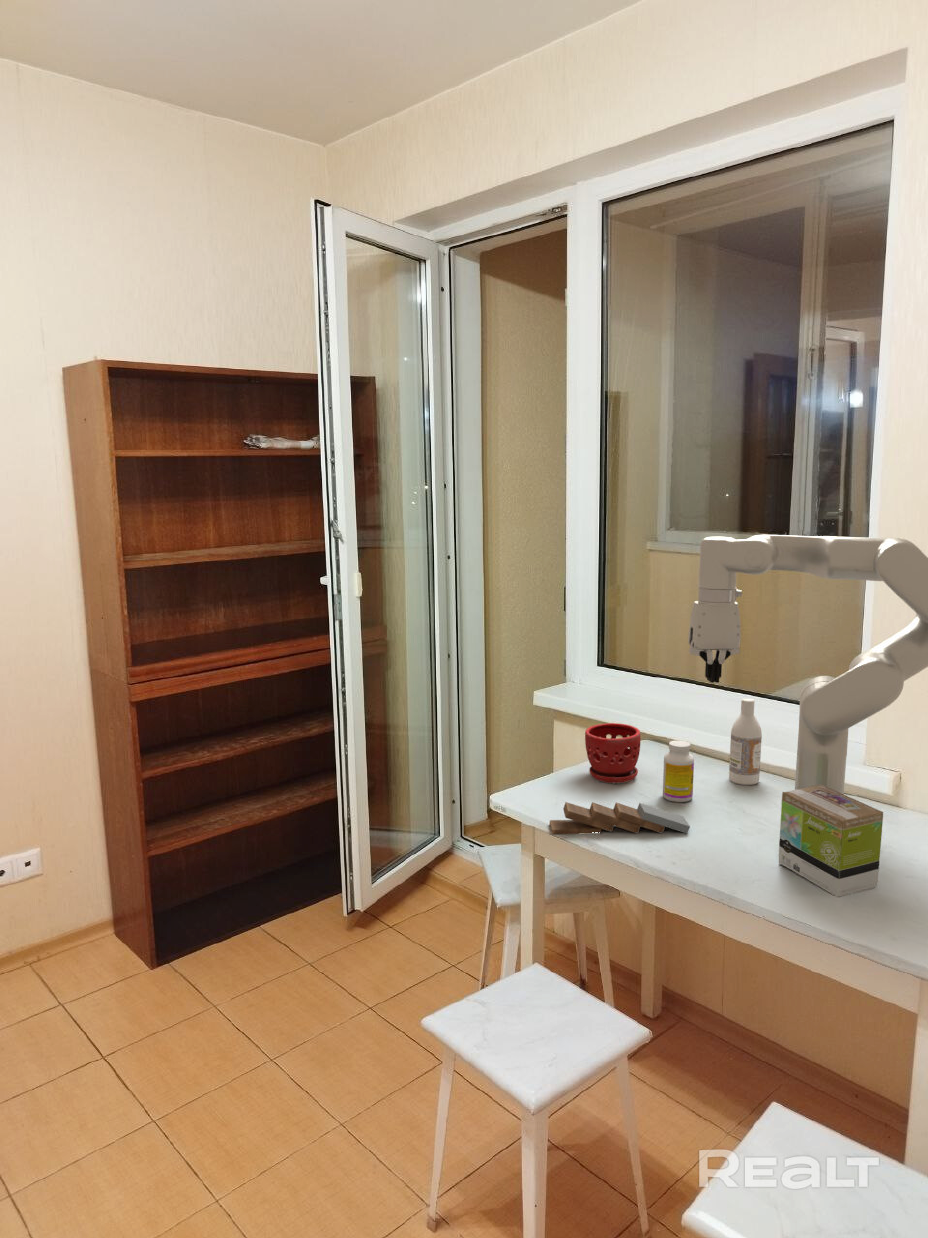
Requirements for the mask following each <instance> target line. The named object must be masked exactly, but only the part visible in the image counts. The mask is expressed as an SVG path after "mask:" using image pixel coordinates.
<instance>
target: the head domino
mask: <svg viewBox="0 0 928 1238" xmlns="http://www.w3.org/2000/svg"><path fill="white" fill-rule="evenodd" d="M636 809H637V811H638V813H639V815H640V817H641V819H644V820H647V821H650V822H653V823H656V824H659V825H662V826H665V827H666V828H669V829H672V830H676V831H678V832H682V833H684V834H688V832H689V831H690V827H691V826H690V824H689V822H688V821H687V819H686V818H685V816H683V815H680V814H676V813H674V812H670V811H667V810H663V809H660V808H657V807H654V806H652V805H648V804H645V803H642V802H639V803H638V806H637V808H636Z"/></svg>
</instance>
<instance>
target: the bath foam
mask: <svg viewBox="0 0 928 1238" xmlns="http://www.w3.org/2000/svg"><path fill="white" fill-rule="evenodd" d="M740 706H741V707H740V714H739V716H737V718H736V720H735V721H734V723H733V724H732V728H731V731H730V745H729V767H728V768H729V769H728V771H729V772H728V779H729V780H730V781H731V782H732V783H734V784H737V785H742V786H751V785H757V784H758V783H759V782H760V772H761V757H762V755H761V754H762V752H761V751H762V737H763V735H762V728H761V725H760V722H759V721H758V720H757V718H756V716H755V715H754V714H755V699H753V698H749V697H748V698H747V697H746V698H741V704H740Z"/></svg>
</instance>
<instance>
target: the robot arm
mask: <svg viewBox="0 0 928 1238" xmlns="http://www.w3.org/2000/svg"><path fill="white" fill-rule="evenodd" d="M698 565H699V568H698V593H697V594H698V595H697V600H695V601H693V603H692V608H691V612H690V618H689V625H688V634H687V635H688V637H687V640H688V641H687V642H688V644H689V648H688V653H689V654H690V655H693V656H697V657H700V658H701V659H702V660H703V661H704V662H705V667H704V676H705V678H706V680H707V681H708V682H710V683H711V684H714V683H716V684H717V683H720V678H722V667H723V664H724V663H725V661H726V660H727V659H728V658H729V657H730V656H734V655H738V654H741V653H740V652H741V650H740V646H741V645H740V644H741V640H742V639H741V637H742V636H741V634H742V630H741V626H742V625H741V615H740V607H739V603H738V602H737V598H739V597H742V595H743V591H742V590H740V589H737V573H739V574H745V575H751V576H759V575H763V574H766V573H767V572H768V571H787V572H788V571H789V572H800V573H806V574H810V575H814V576H816V577H818V578H821V579H828V580H842V581H844V580H845V581H846V580H848V581H850V580H851V581H852V580H853V581H870V582H871V581H872V582H883V583H884V584H885V585H886V586H887V587H889V589H891V591H892V592H893V593H894V594H895V595H896V596H897V597H898V598H899V599H901V601H903V602H904V603H905V604H906V605H907V606H908V607H909V608H910V609H911V610H912V611H913V612H915V613H916V614H915V617H913V620H912V621H911V622H910V623H909V624H908V625H907V626H906V627H904V628H903V629H902V630H900V631H898V632H896V633H895V634H893V635H892V636H891V637H889V638H887V639H885V640H883V641H882V642H880V643H878V644H876V645H875V646H873V647H871V648H869V649H867V650H865V651H864V652H862V653H860V654H858V655H857V656H855V657H854V658H853V659H852V660H851V662H850V664H849V667H848V671H845V672H844V673H842V674H840V675H838V676H837V677H833V676H830V675H819V676H816V677H813V678H811V679H810V680H808V682H806V683H805V684H804V686H803V688H802V689H801V692H800V696H799V715H798V716H799V717H798V733H797V734H798V735H797V750H796V762H795V766H796V767H795V778H794V779H795V782H794V790H797V789H802V788H807V787H811V786H816V785H820V784H821V785H824V786H826V787H828V788H830V789H832V790H835V791H837V792H839V793H841V794H844V793H845V780H846V767H847V766H846V765H847V756H848V743H849V729H850V728H852V727H853V726H856V725H857V724H859V723H861V722H862V721H864V720H866V719H868V718H869V717H872V716H873V715H875V714H877V713H878V712H881V711H882V710H884V709H886V708H887V707H890V706H891V704H893V703H894V702H895V701H896V700H897V699H898V698H899V697H900V695H901V693H902V692H903V689H904V683H905V681H907V680H909V679H910V678H912V677H914V676H916V675H917V674H919V673H920V672H922V671H923V670H925V669H926V668H928V556H927V555H925V553H924V552H922V550H921V549H920V548H919V547H918V546H917V545H915V543H913V542H912V541H910V540H907V539H904V538H898V537H897V538H896V537H868V536H867V537H864V536H861V537H859V536H835V535H834V536H830V535H823V536H822V535H820V536H817V535H816V536H808V535H807V536H806V535H805V536H804V535H784V534H782V535H778V534H755V535H752V536H750V537H748V538H746V539H735V538H733V537H729V536H707V537H704V538H703V539H702V540H701V541H700V546H699V564H698ZM713 651H715V654H714V657H713ZM844 795H845V794H844Z"/></svg>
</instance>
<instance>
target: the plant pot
mask: <svg viewBox="0 0 928 1238" xmlns="http://www.w3.org/2000/svg"><path fill="white" fill-rule="evenodd" d="M584 735H585V736H584V742H585V743H584V744H585V745H584V746H585V750H586V751H585V752H586V755H587V756H586V757H587V759H588V762H589V764H590V767H589V770H588V771H589V773H590V776H591V777H593V778H594V779H595V780H597V781H599V782H603V783H607V784H616V785H617V784H622V783H627V782H629V781H632V780H634V779H635V778H636V777H637V776H638V774H639V770H638V768H637V767H636V766H637V763H638V761H639V758H640V757H639V756H640V751H641V741H642V740H641V731H640V729H639V728H637V727H635V726H633V725H631V724H630V725H629V724H625V723H618V722H617V723H616V722H615V723H614V722H612V723H611V722H609V723H600V724H595V725H591V726H589V727H588V728H586V729H585V732H584ZM608 735H610V738H607V736H608ZM618 736H620V738H617V737H618Z"/></svg>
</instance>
